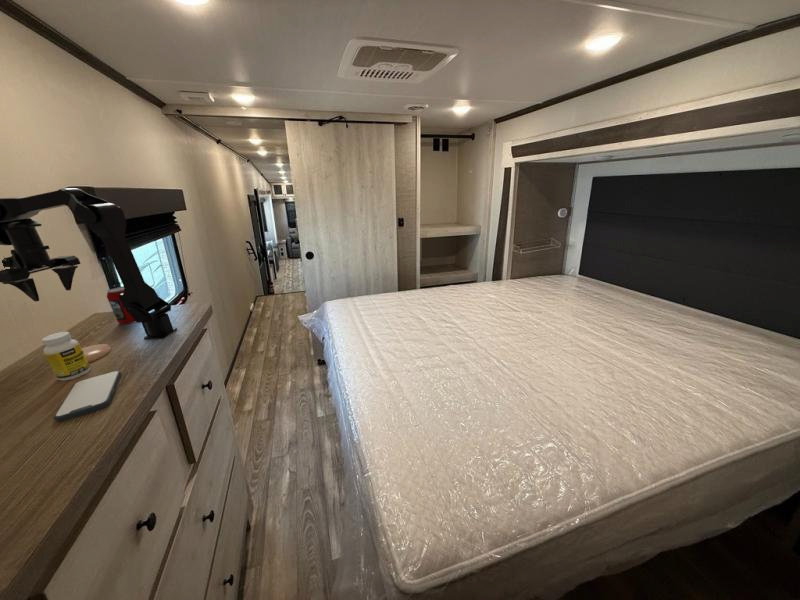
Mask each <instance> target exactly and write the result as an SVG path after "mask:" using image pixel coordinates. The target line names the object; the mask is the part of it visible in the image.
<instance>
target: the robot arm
mask: <svg viewBox="0 0 800 600" xmlns="http://www.w3.org/2000/svg"><path fill="white" fill-rule="evenodd" d="M60 207H67V208H68V209H69V211H71V213H72V214H73V215H74V216H76V217H78V218H79V219H82V220H83V221H84V223H86V225H87V227H88V228H89V230H90V231H92V232H93V233H94V234H96V236H98V237H99V238H101V240H102V241H103V244H104V246H105V248H106V250H107V253H108V254H109V256H110V259H111V262H112V264H113V266H114V268H115V270H116V272H117V275H118V277H119V278H120V279H119V280H120V281H121V284H122V286H123V287H124V292H123V293H122V294H119V295H118V296H119V299H120V301H121V302H122V305H123V308H125V309H126V310H127V312H128V313H129V314H130V315H131V316H132V317H133V318H134V320H135V321H136V323H140V324H141V325H142V327H143V330H144V333H145V336H144V337H143V339H144V340H155V339H165V338H166V337H168V336H169V335H170V334H172V333H175V331H177V330H178V327H173V325H172V322H171V319H170V317H169V314H168V313H169V312H171V310H172V305H171V304H170V303H169V302H168V301H165V300H164V299H163V298H162V297H160V296H159V295H158V293H157V292H156V290H155V289H154V288H153V287H152V286H151V285H149V284H148V283H146V281H145V280H144V277H143V275H142V273H141V269H140V268H139V265H138V263H137V261H136V259H135V256H134V253H133V252H132V249H131V247H130V244H129V242H128V240H127V237H126V230H127V220H126V217H125V213H124V210H123V209H122V208H121V207H120V206H119V205H117V204H115V203H112V202H109V201H107V200H106V199H103V198H101V197H98V196H95V195H93V194H89V193H87V192H86V191H84V190H83V189H80V188H77V187H76V188H75V187H72V188H71V187H70V188H69V187H68V188H67V187H65V188H59V189H58V190H54V191H48V192H44V193H39V194H35V195H34V194H33V195H30V196H25V197H23V196H21V197H19V196H17V197H3V198H2V197H0V245H4V246H12V247H13V249H10V254H11V256H7V257H4V256H3V257H4V259H3V260H2V263H3V266H4V268H5V267H10V269H1V270H0V283H1V284H3V285H10V286H13V287H15V288H17V289H18V290H20V291H21V292H22V293H24V294H25V295H26V296H27V297H29V298H30V299H31V300H32V301H33V302H40V296H39V293H38V290H37V286H36V283H35V280H34V278H33V277H32V278H29V277H30V276H31V274H34V273H35V274H36V273H39V272H42V271H46V270H50V269H51V271H53V272H54V273H55V274H56V275H57V276H58V278H59V279H60V282H61V284H62V286H63V287H64V289H65V291H66V292H68V291H69V292H70V291H71V290H72V286H73V279H74V276H75V273H76V269H77V268H78V267H79V266H78V265H81V261H80V259H79V258H78V257H77V256H75V255H64V256H63V255H61V256H57V257H52V258H51V257H50V255H49V254H48V251H47V250H50V246H49V245H44V242H43V241H42V238H41V237H40V234H39V233H38V230H37V228H36V227H42V223H40V222H39V221H36V220H34V219H32V217H35V216H37V215H38V214H39V212H42V211H48V210H51V209H58V208H60ZM4 246H3V247H4Z"/></svg>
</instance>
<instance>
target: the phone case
mask: <svg viewBox="0 0 800 600" xmlns="http://www.w3.org/2000/svg"><path fill="white" fill-rule="evenodd" d="M121 376H122V373H121V371H120V370H114V371H111V372H106V373H103V374H100V375H95V376H92V377H88V378H86V379H85V378H84V379H81V380H78V381H77V382H75V383H74V384H73V385H72V387H71V388H70V390H69V392H68V394H66V396H65V398H64V400H63V401H62V403H61V405H60V406H59V408H58V409H57V410H56V412H55V414H54V415H53V420H54V421H55V422H56V423H62V422H65V421H70V420H72V419H76V418H78V417H81V416H85V415H87V414H90V413H94V412H97V411H100V410H103V409H106V408H107V407H109V406H110V405H111V403H112V401H113V398H114V395H115V393H116V390H117V387H118V384H119V382H120V379H121Z"/></svg>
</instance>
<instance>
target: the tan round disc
mask: <svg viewBox="0 0 800 600" xmlns="http://www.w3.org/2000/svg"><path fill="white" fill-rule="evenodd" d="M81 349H82V350H83V353H84V355H85V357H86V359H87V361H88V363H89V364H90V363H92V362H94V361H97V360H98V358H99V359H100V358H101V359H102V358H103V357H104V356H106V355H108V354H109V353H110V352H111V351H112V347H111V345H109V344H106V343H102V344H99V343H98V344H93V345H90V346H89V345H88V346H86V347H81ZM96 359H97V360H96Z"/></svg>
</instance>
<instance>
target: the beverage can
mask: <svg viewBox="0 0 800 600" xmlns="http://www.w3.org/2000/svg"><path fill="white" fill-rule="evenodd" d="M106 291H107V293H106V298H107V301H108V303H109V305H110V308H111V311H112V312H113V315H114V317H115V319H116V321H117V323H118V324H122V325H128V323H129V324H132V322H133V323H135V320H134V318H133V317H132V316H131V315H130V314H129V313H128V312H127V310H126V309H125V308H123V305H122V302H121V301H120V299H119V296H118V295H119V294H122V293H123V292H124V286H118V287H117V286H116V287H114V288H111V289H108V290H106Z"/></svg>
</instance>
